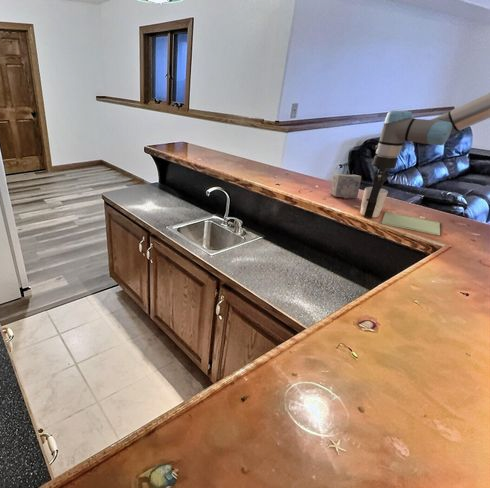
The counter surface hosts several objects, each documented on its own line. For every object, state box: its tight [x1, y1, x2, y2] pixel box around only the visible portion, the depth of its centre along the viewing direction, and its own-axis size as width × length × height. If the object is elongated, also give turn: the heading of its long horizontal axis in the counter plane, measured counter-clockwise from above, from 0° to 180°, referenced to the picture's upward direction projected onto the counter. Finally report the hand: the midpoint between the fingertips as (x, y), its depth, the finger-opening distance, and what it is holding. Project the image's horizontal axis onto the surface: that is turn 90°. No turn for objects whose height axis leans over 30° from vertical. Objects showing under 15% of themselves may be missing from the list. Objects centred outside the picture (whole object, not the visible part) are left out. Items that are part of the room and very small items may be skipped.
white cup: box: [359, 186, 389, 218], centre depth 136 cm, size 8×8×10 cm
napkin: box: [380, 211, 441, 237], centre depth 131 cm, size 18×14×1 cm
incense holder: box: [329, 172, 362, 200], centre depth 156 cm, size 10×8×10 cm
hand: (369, 213), depth 138 cm, fingers closed on white cup, 8 cm apart
